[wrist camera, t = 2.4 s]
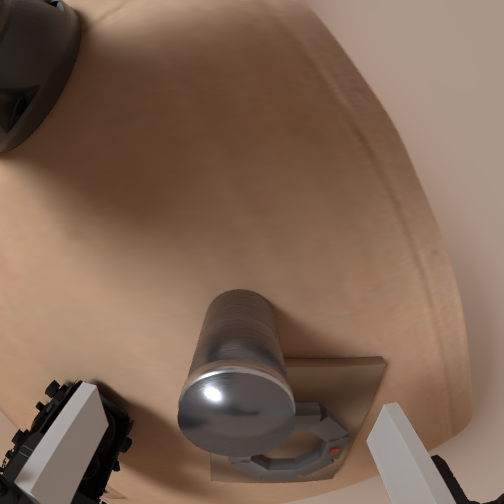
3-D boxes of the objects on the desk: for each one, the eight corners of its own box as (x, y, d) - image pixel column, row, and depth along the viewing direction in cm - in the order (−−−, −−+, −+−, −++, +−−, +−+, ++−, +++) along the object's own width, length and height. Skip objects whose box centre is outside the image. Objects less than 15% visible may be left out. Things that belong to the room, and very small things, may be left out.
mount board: (211, 353, 21) (206, 378, 18) (381, 356, 21) (395, 377, 18) (211, 472, 25) (209, 493, 22) (330, 471, 25) (335, 490, 22)
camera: (160, 413, 22) (106, 603, 3) (104, 452, 25) (57, 575, 5) (74, 345, 21) (-51, 508, 1) (39, 402, 23) (-36, 512, 3)
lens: (205, 284, 19) (170, 375, 10) (280, 290, 20) (308, 384, 10) (203, 351, 21) (180, 455, 11) (272, 356, 21) (286, 461, 11)
